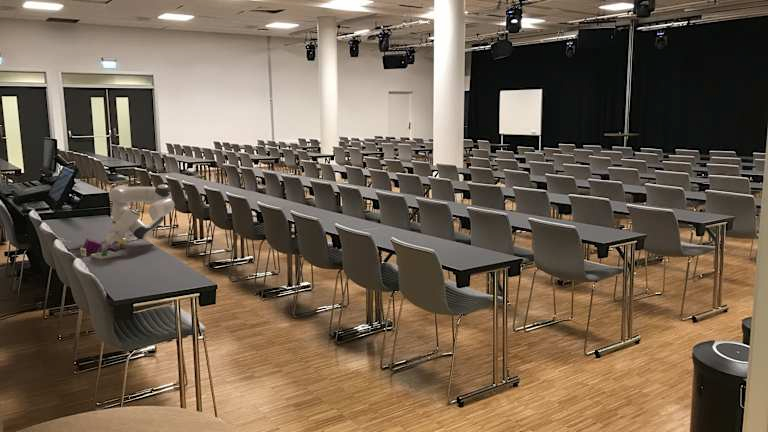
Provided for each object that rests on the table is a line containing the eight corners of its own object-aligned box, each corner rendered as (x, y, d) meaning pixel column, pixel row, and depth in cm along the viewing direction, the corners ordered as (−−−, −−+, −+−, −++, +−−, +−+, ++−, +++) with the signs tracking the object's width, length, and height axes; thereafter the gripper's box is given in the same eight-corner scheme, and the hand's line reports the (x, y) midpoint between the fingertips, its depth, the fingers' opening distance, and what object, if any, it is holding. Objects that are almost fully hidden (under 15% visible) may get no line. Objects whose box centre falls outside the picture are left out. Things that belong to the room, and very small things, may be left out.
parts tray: (108, 253, 417) (108, 250, 417) (118, 256, 410) (118, 253, 410) (90, 256, 408) (90, 254, 408) (100, 259, 401) (100, 256, 400)
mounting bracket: (109, 258, 429) (81, 249, 420) (114, 247, 430) (86, 238, 421) (111, 261, 421) (83, 252, 412) (116, 249, 422) (88, 240, 413)
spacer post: (106, 254, 412) (106, 240, 411) (109, 255, 409) (108, 241, 408) (100, 255, 409) (99, 241, 408) (103, 256, 406) (102, 242, 405)
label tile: (81, 255, 413) (81, 247, 412) (86, 256, 409) (86, 248, 408) (80, 255, 412) (80, 247, 412) (85, 256, 409) (85, 248, 408)
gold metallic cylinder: (124, 247, 436) (123, 237, 434) (127, 248, 433) (127, 238, 432) (117, 248, 432) (117, 238, 431) (121, 249, 429) (120, 239, 428)
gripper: (122, 236, 402) (107, 252, 399) (122, 230, 420) (107, 246, 418) (114, 229, 399) (98, 246, 397) (114, 224, 418) (99, 240, 415)
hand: (103, 246), depth 408 cm, fingers open, 5 cm apart
